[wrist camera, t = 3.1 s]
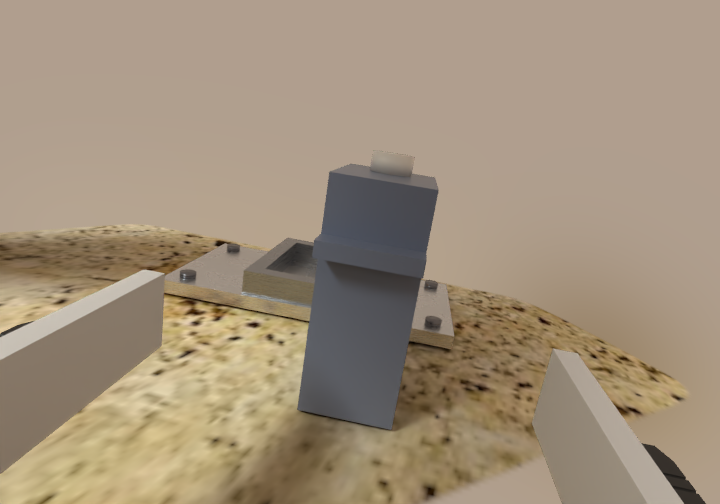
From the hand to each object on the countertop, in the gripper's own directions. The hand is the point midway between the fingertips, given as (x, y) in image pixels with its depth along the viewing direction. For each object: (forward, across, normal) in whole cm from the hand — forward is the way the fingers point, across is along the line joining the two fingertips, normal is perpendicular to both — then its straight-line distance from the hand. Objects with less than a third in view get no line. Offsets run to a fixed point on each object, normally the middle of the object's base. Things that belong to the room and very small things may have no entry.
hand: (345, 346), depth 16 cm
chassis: (+23, -5, -7) cm, 24 cm away
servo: (+9, 0, -7) cm, 12 cm away
